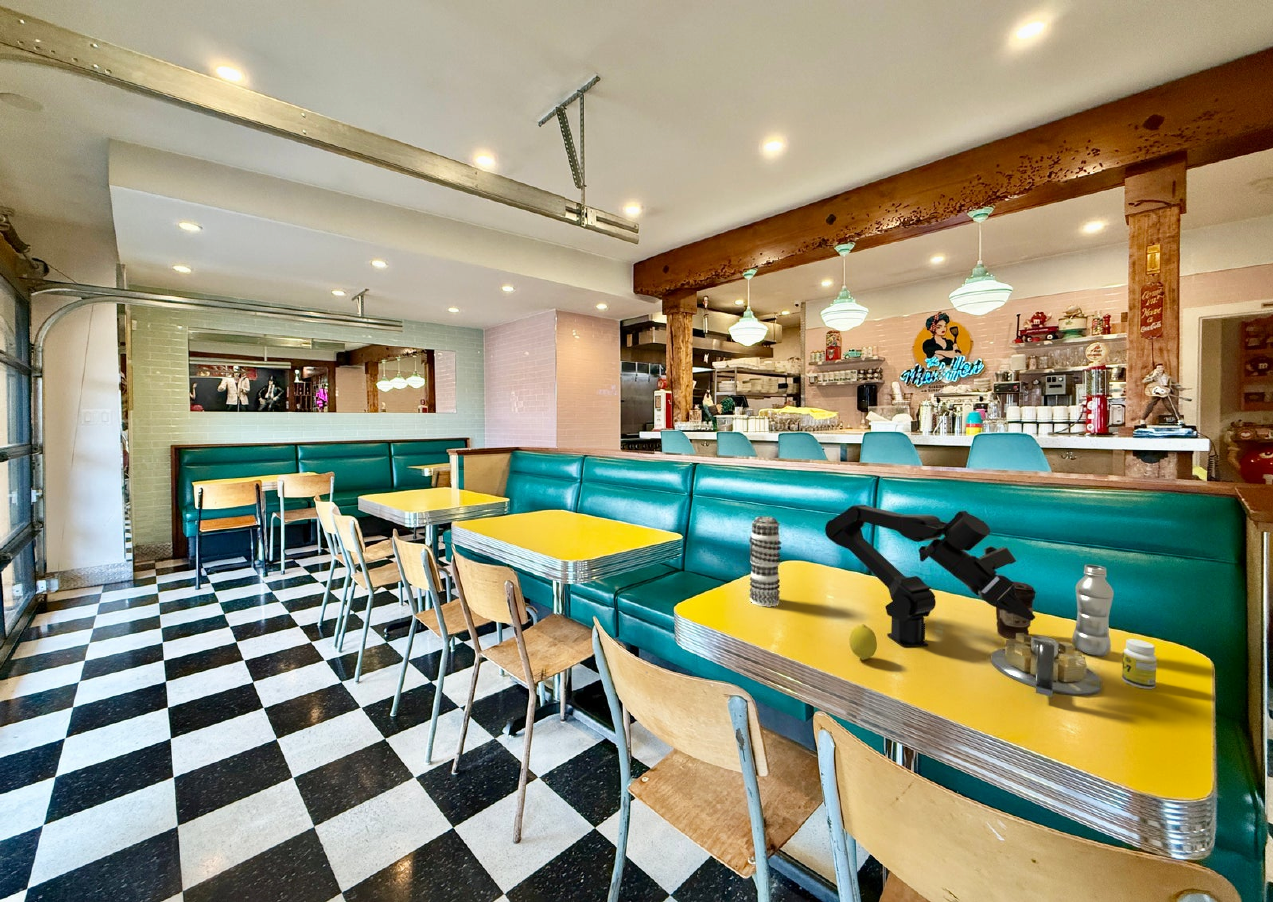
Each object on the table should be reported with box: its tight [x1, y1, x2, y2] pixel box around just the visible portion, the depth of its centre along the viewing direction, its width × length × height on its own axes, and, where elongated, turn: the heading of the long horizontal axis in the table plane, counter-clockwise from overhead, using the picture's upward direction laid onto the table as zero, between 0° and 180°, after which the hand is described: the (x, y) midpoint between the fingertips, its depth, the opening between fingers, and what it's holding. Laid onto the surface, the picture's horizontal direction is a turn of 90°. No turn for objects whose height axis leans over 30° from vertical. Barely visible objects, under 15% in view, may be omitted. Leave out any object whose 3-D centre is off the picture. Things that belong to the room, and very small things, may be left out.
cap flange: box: [990, 634, 1103, 697], centre depth 104 cm, size 18×18×7 cm
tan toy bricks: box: [1004, 633, 1087, 698], centre depth 100 cm, size 22×13×10 cm, turn 141°
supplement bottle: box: [1121, 638, 1158, 690], centre depth 99 cm, size 5×5×8 cm
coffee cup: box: [995, 580, 1037, 639], centre depth 122 cm, size 9×8×13 cm
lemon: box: [848, 623, 878, 661], centre depth 109 cm, size 6×6×8 cm
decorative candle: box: [748, 516, 782, 608], centre depth 145 cm, size 9×9×25 cm
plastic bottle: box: [1072, 564, 1115, 657], centre depth 112 cm, size 6×7×20 cm
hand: (1027, 615), depth 102 cm, fingers open, 9 cm apart
